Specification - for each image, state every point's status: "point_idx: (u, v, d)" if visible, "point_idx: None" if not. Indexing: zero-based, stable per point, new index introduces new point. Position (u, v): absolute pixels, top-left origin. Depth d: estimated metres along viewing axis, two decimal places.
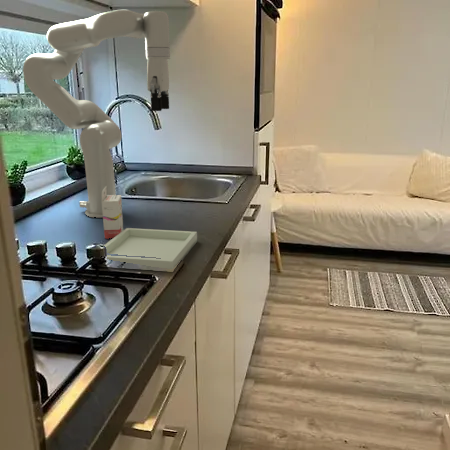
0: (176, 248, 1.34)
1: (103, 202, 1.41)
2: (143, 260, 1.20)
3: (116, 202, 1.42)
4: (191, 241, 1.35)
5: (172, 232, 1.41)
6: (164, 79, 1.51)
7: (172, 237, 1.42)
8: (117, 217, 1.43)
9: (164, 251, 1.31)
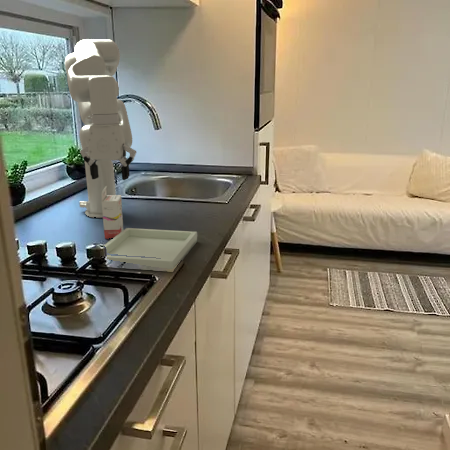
0: (176, 248, 1.34)
1: (103, 202, 1.41)
2: (143, 260, 1.20)
3: (116, 202, 1.42)
4: (191, 241, 1.35)
5: (172, 232, 1.41)
6: None
7: (172, 237, 1.42)
8: (117, 217, 1.43)
9: (164, 251, 1.31)
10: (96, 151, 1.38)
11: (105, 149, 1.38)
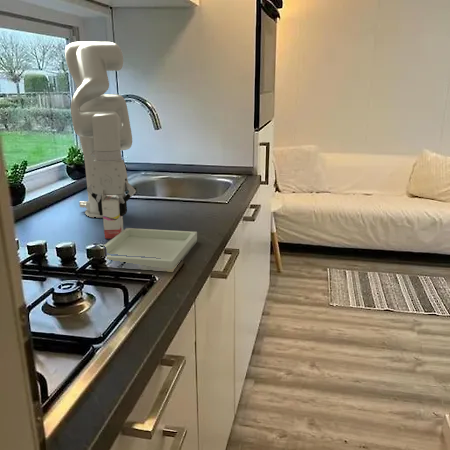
0: (176, 248, 1.34)
1: (103, 202, 1.41)
2: (143, 260, 1.20)
3: (116, 202, 1.42)
4: (191, 241, 1.35)
5: (172, 232, 1.41)
6: None
7: (172, 237, 1.42)
8: (117, 217, 1.43)
9: (164, 251, 1.31)
10: (99, 186, 1.42)
11: (108, 184, 1.41)
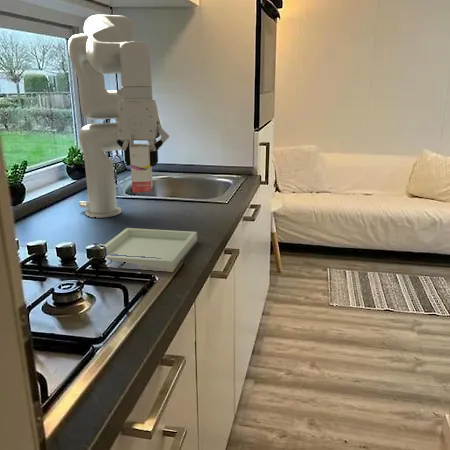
0: (176, 248, 1.34)
1: (131, 148, 1.20)
2: (143, 260, 1.20)
3: (146, 148, 1.20)
4: (191, 241, 1.35)
5: (172, 232, 1.41)
6: None
7: (172, 237, 1.42)
8: (147, 166, 1.22)
9: (164, 251, 1.31)
10: (126, 130, 1.21)
11: (137, 127, 1.20)
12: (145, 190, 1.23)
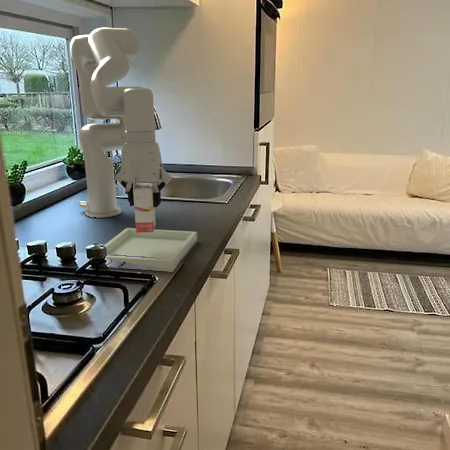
0: (176, 248, 1.34)
1: (135, 190, 1.23)
2: (143, 260, 1.20)
3: (150, 190, 1.23)
4: (191, 241, 1.35)
5: (172, 232, 1.41)
6: None
7: (172, 237, 1.42)
8: (150, 208, 1.24)
9: (164, 251, 1.31)
10: (130, 172, 1.24)
11: (141, 170, 1.23)
12: (148, 230, 1.26)
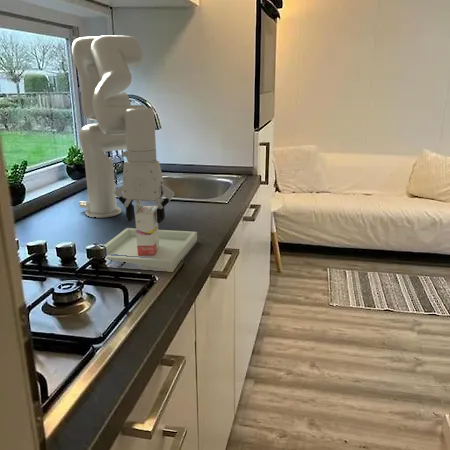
0: (176, 248, 1.34)
1: (137, 214, 1.25)
2: (143, 260, 1.20)
3: (151, 215, 1.25)
4: (191, 241, 1.35)
5: (172, 232, 1.41)
6: None
7: (172, 237, 1.42)
8: (152, 231, 1.26)
9: (164, 251, 1.31)
10: (131, 190, 1.25)
11: (142, 188, 1.24)
12: (150, 253, 1.28)
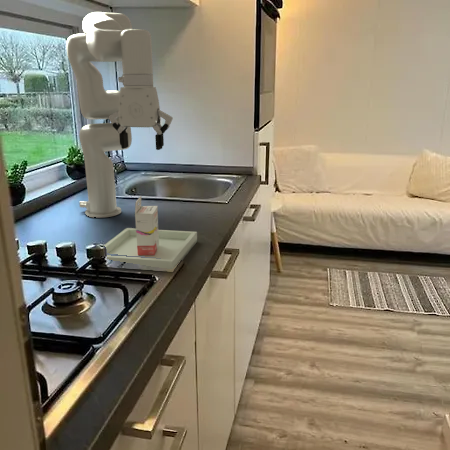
0: (176, 248, 1.34)
1: (137, 214, 1.25)
2: (143, 260, 1.20)
3: (151, 215, 1.25)
4: (191, 241, 1.35)
5: (172, 232, 1.41)
6: None
7: (172, 237, 1.42)
8: (152, 231, 1.26)
9: (164, 251, 1.31)
10: (127, 116, 1.23)
11: (138, 114, 1.22)
12: (150, 253, 1.28)
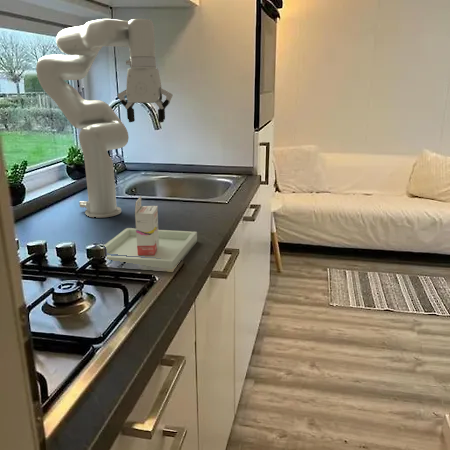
0: (176, 248, 1.34)
1: (137, 214, 1.25)
2: (143, 260, 1.20)
3: (151, 215, 1.25)
4: (191, 241, 1.35)
5: (172, 232, 1.41)
6: None
7: (172, 237, 1.42)
8: (152, 231, 1.26)
9: (164, 251, 1.31)
10: (134, 94, 1.44)
11: (143, 91, 1.43)
12: (150, 253, 1.28)
